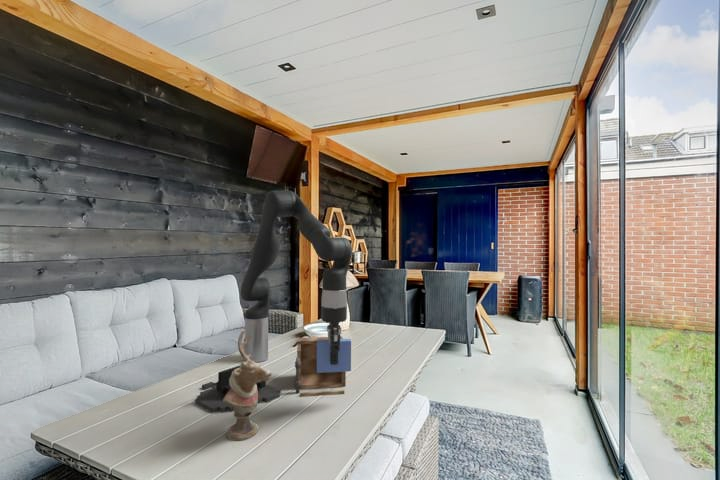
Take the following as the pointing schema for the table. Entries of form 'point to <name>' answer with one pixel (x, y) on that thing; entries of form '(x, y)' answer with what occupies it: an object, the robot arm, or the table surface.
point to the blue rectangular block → (324, 356)
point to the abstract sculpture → (218, 391)
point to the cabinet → (314, 370)
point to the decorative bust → (244, 393)
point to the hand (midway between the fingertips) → (333, 362)
